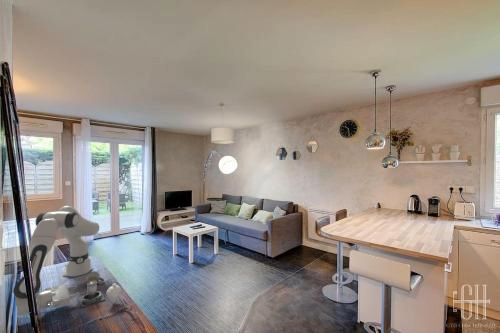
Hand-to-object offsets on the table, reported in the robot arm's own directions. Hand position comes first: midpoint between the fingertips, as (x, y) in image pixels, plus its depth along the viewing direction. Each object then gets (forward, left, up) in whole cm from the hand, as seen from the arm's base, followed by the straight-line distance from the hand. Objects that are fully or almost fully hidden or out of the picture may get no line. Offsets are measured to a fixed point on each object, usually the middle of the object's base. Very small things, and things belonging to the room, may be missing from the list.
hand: (78, 290), depth 136 cm
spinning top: (+13, +16, -9) cm, 22 cm away
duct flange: (0, +7, -8) cm, 11 cm away
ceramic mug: (-21, +12, -9) cm, 26 cm away
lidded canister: (0, +7, -8) cm, 10 cm away
